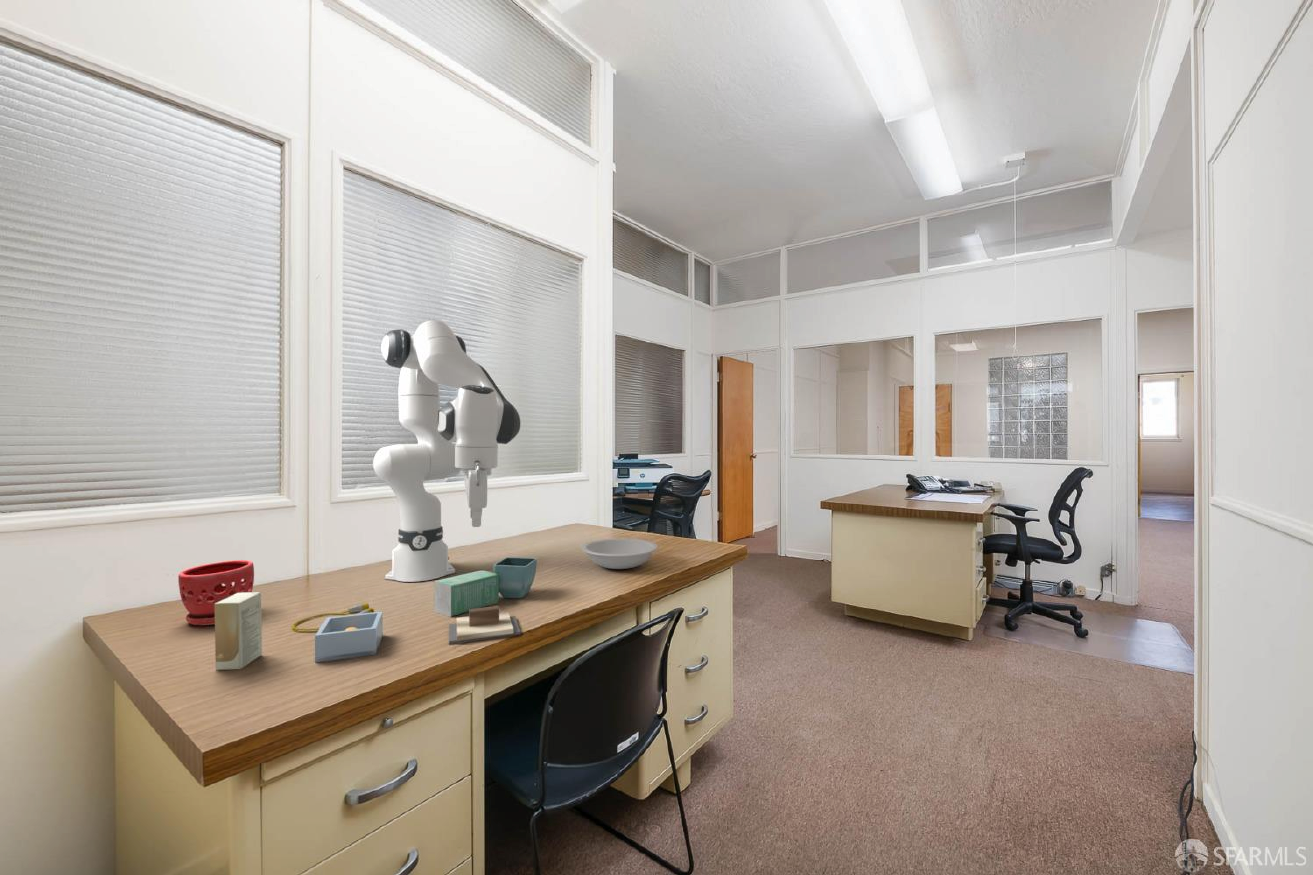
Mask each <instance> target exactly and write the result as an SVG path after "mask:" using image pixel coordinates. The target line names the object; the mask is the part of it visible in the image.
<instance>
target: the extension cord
mask: <svg viewBox="0 0 1313 875" xmlns="http://www.w3.org/2000/svg"><path fill="white" fill-rule="evenodd" d="M373 612H375V610H374V608H372V607H370V605H369V603H368V602H366V603H363V604H362V603H361V604H357V605H354V606H351V607H349V608H348V609H347V610H345V611H342V612H327V613H321V614H315V615H312V616H309V617H306V618H305V617H304V618H303V619H300V620H297V621H296V622H294V623H293V624H292V625H291V628H292V630H293V632H296V633H308V634H309V633H311V634H312V633H317V632H318V630H319V629H320V627H317V628H299V627H297V626H298V625H301V623H304V622H306V621H310V620H313V618H314V619H317V618H320V617H325V616H327V617H328V616H330V615H339V616H346V615H351V614H356V613H357V614H364V613H373ZM296 625H297V626H296Z"/></svg>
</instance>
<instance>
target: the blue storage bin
mask: <svg viewBox="0 0 1313 875" xmlns="http://www.w3.org/2000/svg"><path fill="white" fill-rule="evenodd" d="M383 616H384V615H383V611H376V612H375V611H374V612H373V613H364V614H358V613H354V614H350V615H337V616H327V617H326V618H325V620H324V621H323V622H322V624H321V626H320V627H319V628H320V629H319V630H317V631H318V632H315V635H314V663H322V662H323V663H324V662H330V661H337V660H343V659H345V660H346V659H353V658H358V657H365V656H374V655H377V653H378V649H379V647H380V644H381V641H382V638H383V629H384V628H383V620H384V619H383ZM350 627H355V628H357V629H354V630H346V629H348V628H350ZM345 630H346V631H345Z"/></svg>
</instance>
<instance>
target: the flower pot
mask: <svg viewBox="0 0 1313 875" xmlns="http://www.w3.org/2000/svg"><path fill="white" fill-rule="evenodd" d="M537 562H538V558H534V557H514V556H513V557H510V556H509V557H508V556H506V557H504V558H503V559H501V560H500V561H497V562H496V563H494V564H493V573H495V574H498V578H499V595H501V597H502V598H503V599H506V598H507V599H522V598H523V597H525V596H526V595H527V594H528V593H529V591H530V590H531V588H532V586H533V584H534V580H535V577H536V569H537Z"/></svg>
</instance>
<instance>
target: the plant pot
mask: <svg viewBox="0 0 1313 875" xmlns="http://www.w3.org/2000/svg"><path fill="white" fill-rule="evenodd" d="M254 567H255V566H254V562H253V561H252V560H243V559H240V560H239V559H238V560H237V559H236V560H226V561H218V562H214V563H212V562H211V563H206V564H201V565H198V566H193V567H190V568H187V569H183V571H181V572H180V573H179V574H178V577H177V578H178V580H177V582H178V588H179V595H180V599H181V601H182V604H183V606H184V608H185V610H186V611H187V612H188V614H187V615H186V616H185V620H186V621H187V623H189V624H190V625H194V626H213V625H214V626H215V603H217V602H219V601H221V600H223V599H225V598H228V597H230V596H232V595H234V594H236V593H246V592H253V588H254V583H255V569H254Z"/></svg>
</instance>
